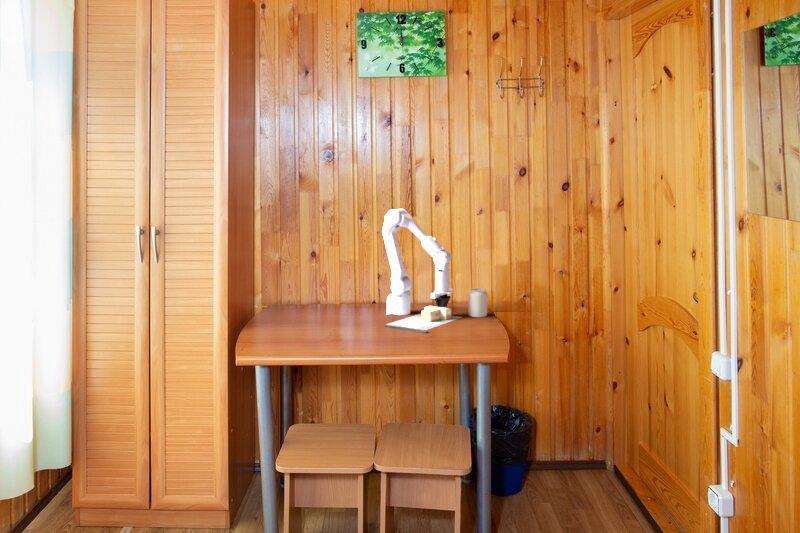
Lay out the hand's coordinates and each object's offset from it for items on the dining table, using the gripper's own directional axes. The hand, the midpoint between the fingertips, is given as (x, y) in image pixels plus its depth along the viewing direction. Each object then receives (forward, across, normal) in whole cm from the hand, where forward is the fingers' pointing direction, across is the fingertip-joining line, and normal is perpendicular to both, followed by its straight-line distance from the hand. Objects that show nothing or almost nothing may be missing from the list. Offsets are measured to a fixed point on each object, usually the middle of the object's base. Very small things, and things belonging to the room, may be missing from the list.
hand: (442, 313), depth 268 cm
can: (+2, +10, -11) cm, 15 cm away
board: (+2, -11, +1) cm, 11 cm away
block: (+1, -7, 0) cm, 7 cm away
